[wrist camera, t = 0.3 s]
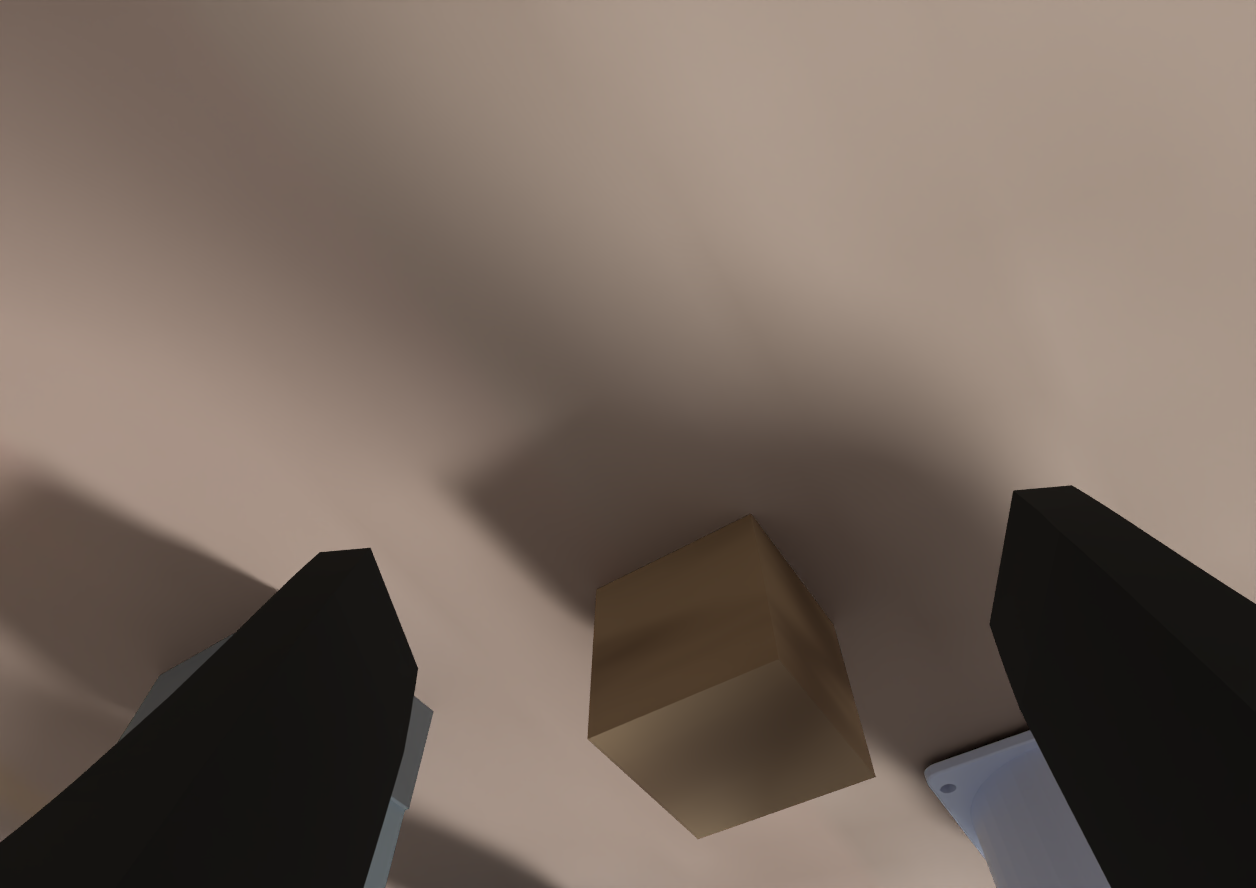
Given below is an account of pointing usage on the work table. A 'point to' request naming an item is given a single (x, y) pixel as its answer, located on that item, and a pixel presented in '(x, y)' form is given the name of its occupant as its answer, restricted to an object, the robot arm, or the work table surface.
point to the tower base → (413, 745)
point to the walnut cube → (723, 684)
